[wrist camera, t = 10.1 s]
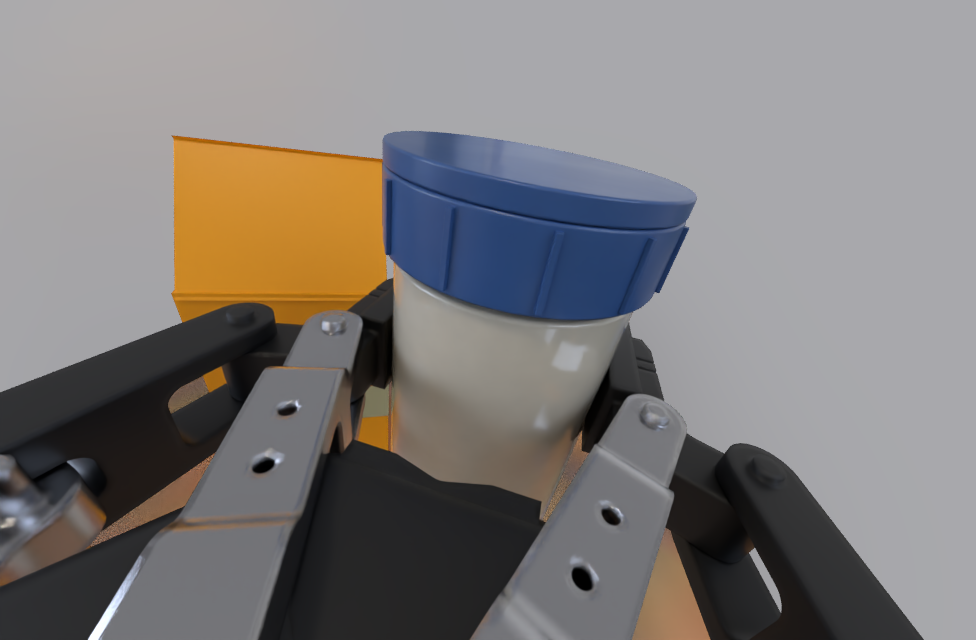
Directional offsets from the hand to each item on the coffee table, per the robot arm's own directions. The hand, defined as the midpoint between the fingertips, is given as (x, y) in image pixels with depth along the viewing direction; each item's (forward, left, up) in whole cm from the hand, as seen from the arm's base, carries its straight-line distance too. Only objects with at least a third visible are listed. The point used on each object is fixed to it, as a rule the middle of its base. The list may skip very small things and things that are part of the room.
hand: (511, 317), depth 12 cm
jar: (0, -3, -6) cm, 7 cm away
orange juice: (-12, +5, -18) cm, 22 cm away
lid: (0, -2, +5) cm, 5 cm away
